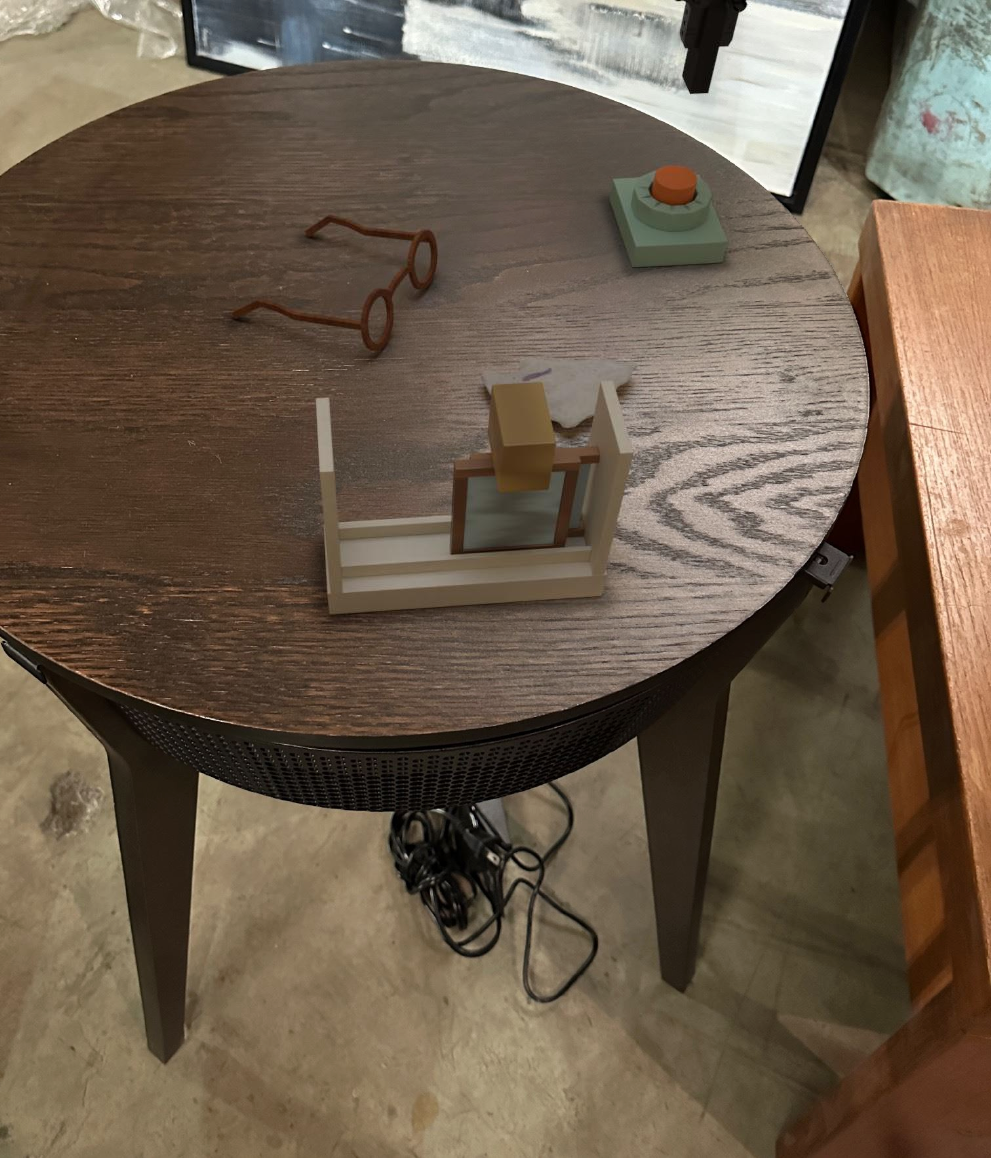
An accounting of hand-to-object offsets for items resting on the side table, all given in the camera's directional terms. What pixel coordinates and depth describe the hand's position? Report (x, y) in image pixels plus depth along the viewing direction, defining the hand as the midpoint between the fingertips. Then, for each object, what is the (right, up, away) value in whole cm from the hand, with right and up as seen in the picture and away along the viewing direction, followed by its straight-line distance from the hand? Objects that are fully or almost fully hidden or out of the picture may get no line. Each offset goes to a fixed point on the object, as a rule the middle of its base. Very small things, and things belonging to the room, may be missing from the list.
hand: (695, 84), depth 88 cm
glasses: (-29, -16, +6) cm, 33 cm away
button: (0, -6, +8) cm, 10 cm away
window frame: (-19, -39, -12) cm, 45 cm away
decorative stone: (-11, -26, -2) cm, 28 cm away
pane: (-16, -38, -15) cm, 44 cm away
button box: (0, -8, +11) cm, 14 cm away
